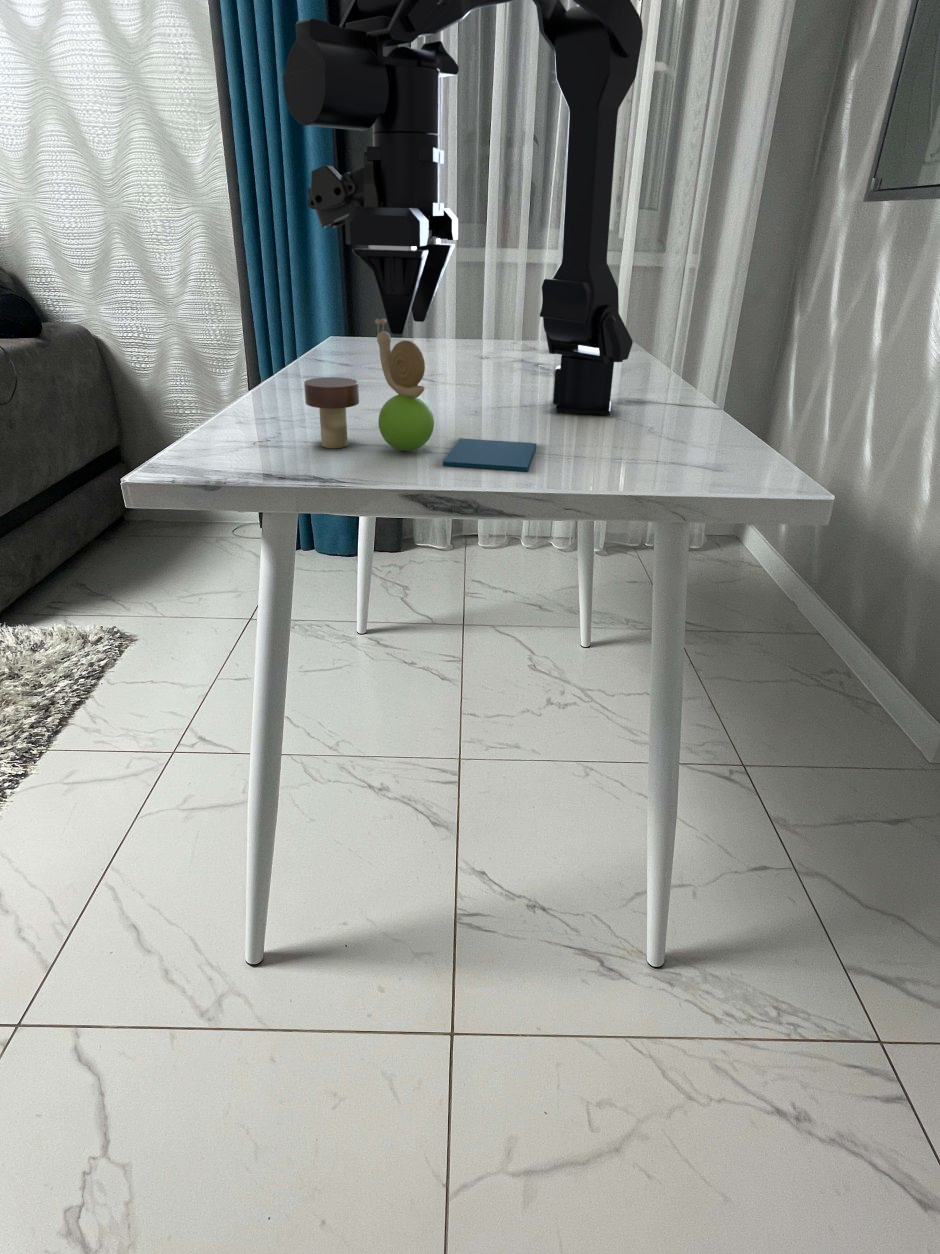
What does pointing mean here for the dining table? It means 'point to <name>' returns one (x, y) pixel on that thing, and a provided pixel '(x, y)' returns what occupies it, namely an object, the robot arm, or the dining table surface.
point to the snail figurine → (403, 395)
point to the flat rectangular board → (491, 454)
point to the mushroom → (332, 406)
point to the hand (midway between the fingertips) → (408, 327)
